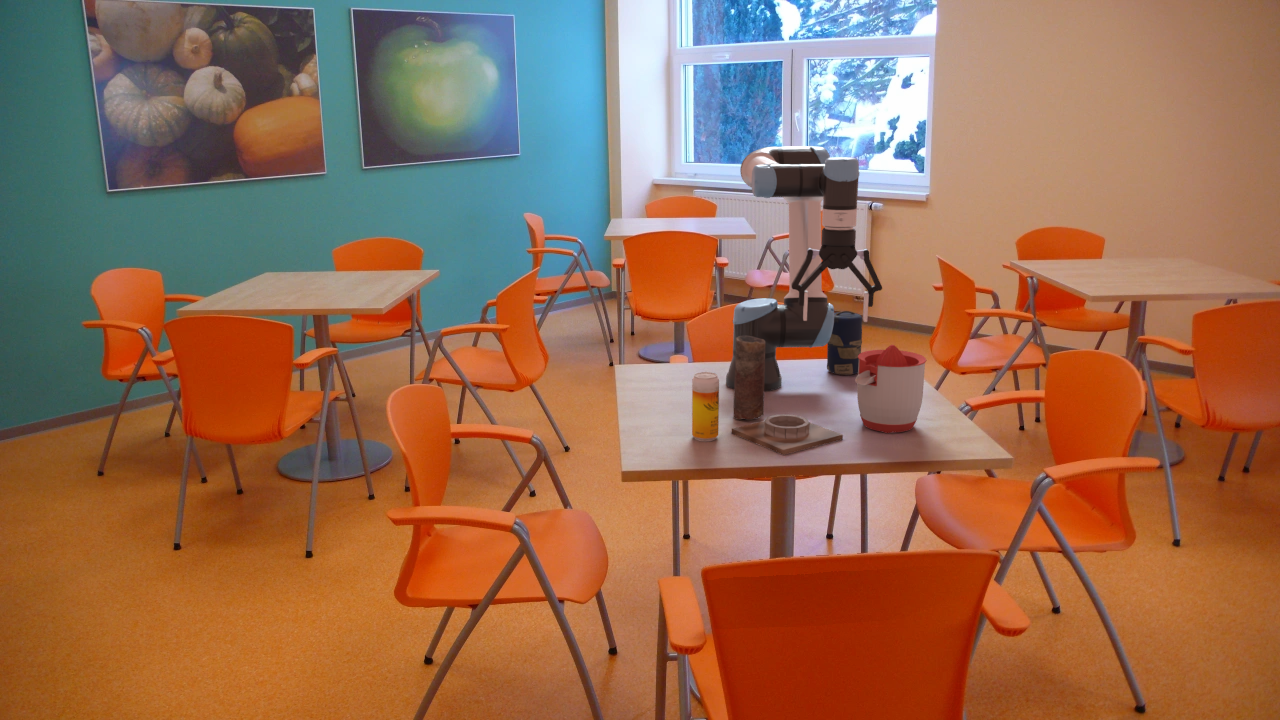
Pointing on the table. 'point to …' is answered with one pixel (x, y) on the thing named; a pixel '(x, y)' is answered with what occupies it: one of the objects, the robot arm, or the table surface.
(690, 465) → the table surface
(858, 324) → the canister
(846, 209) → the robot arm
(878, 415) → the citrus juicer
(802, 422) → the can holder
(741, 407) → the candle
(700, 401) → the beer can
